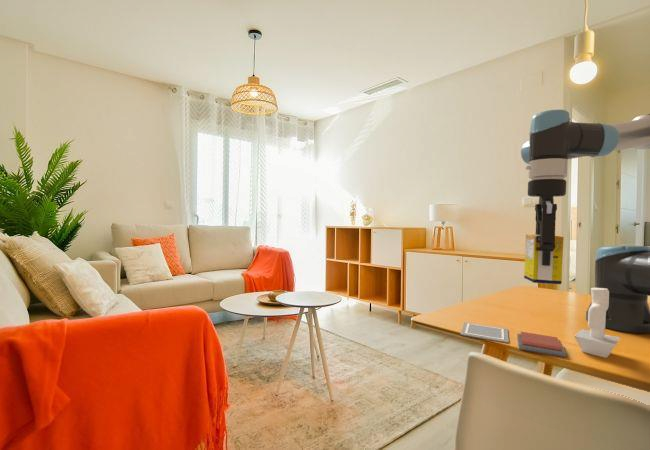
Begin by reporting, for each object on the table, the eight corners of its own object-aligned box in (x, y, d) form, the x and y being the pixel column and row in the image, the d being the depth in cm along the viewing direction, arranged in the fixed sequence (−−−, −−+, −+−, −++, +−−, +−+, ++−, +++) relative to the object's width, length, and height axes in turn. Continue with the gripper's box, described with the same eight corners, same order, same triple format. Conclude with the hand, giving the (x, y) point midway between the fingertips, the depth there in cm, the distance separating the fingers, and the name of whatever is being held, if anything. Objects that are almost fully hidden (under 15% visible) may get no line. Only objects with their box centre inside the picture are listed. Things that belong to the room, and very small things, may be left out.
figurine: (572, 352, 77) (575, 287, 77) (582, 342, 84) (585, 282, 83) (613, 363, 72) (616, 294, 71) (620, 352, 78) (623, 288, 78)
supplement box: (562, 284, 76) (564, 236, 76) (532, 283, 77) (534, 235, 77) (550, 279, 82) (552, 234, 82) (523, 278, 83) (525, 234, 83)
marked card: (507, 329, 92) (507, 328, 92) (508, 343, 82) (508, 341, 82) (464, 323, 97) (464, 321, 97) (460, 335, 87) (460, 333, 87)
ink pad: (559, 345, 82) (560, 337, 82) (565, 357, 75) (566, 348, 74) (517, 338, 86) (517, 330, 86) (518, 349, 79) (519, 340, 79)
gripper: (525, 183, 89) (521, 269, 90) (531, 175, 72) (527, 282, 73) (559, 182, 86) (555, 272, 87) (575, 174, 68) (569, 286, 69)
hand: (542, 276), depth 80 cm, fingers closed on supplement box, 7 cm apart
